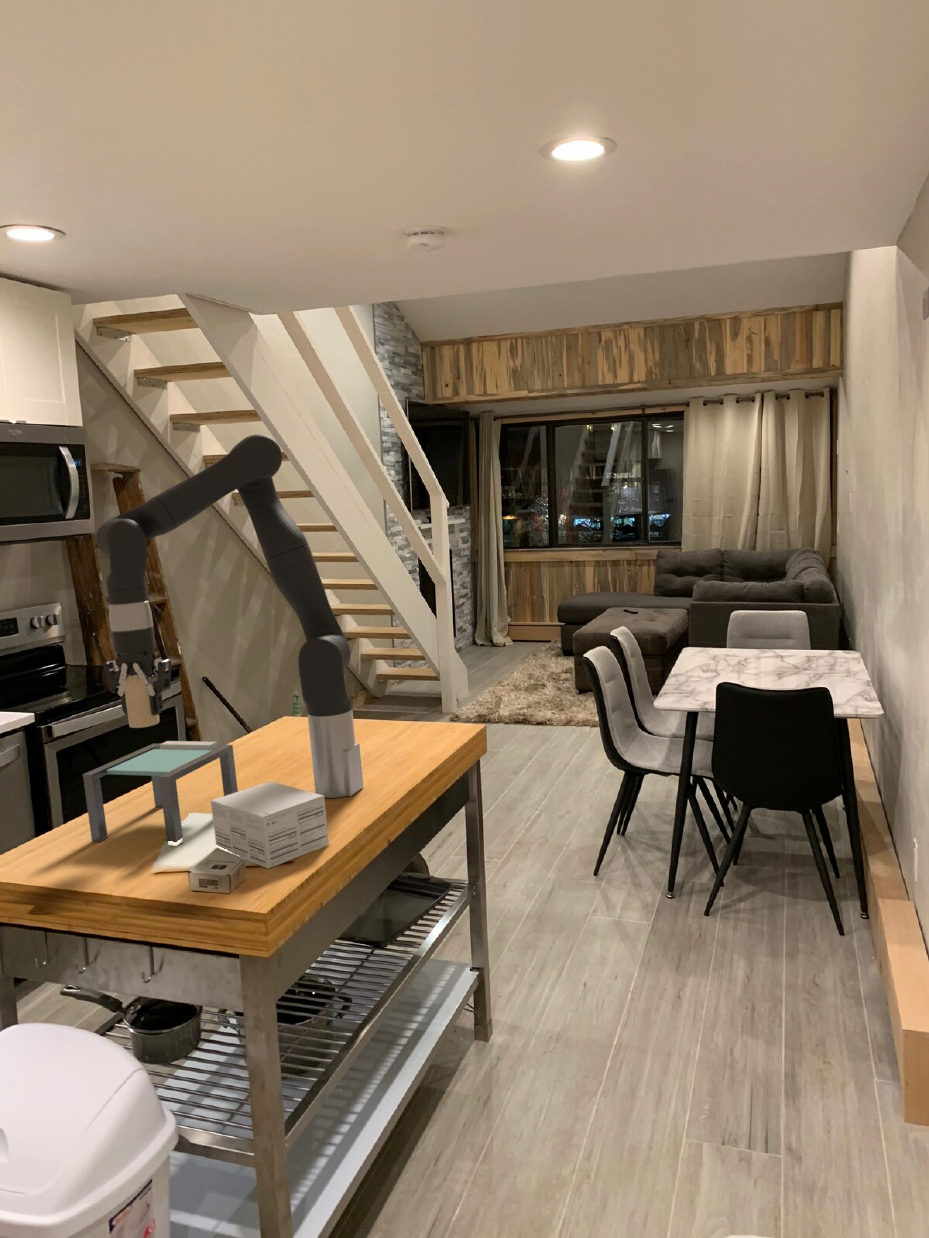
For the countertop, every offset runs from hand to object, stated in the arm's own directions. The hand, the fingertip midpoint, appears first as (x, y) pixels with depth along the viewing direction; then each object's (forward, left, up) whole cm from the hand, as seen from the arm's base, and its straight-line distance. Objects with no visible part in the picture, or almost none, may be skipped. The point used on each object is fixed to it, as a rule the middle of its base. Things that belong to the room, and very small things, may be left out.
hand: (143, 713), depth 175 cm
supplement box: (-28, +4, -23) cm, 37 cm away
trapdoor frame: (0, -3, -23) cm, 23 cm away
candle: (0, 0, -2) cm, 2 cm away
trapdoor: (0, -5, -12) cm, 13 cm away
